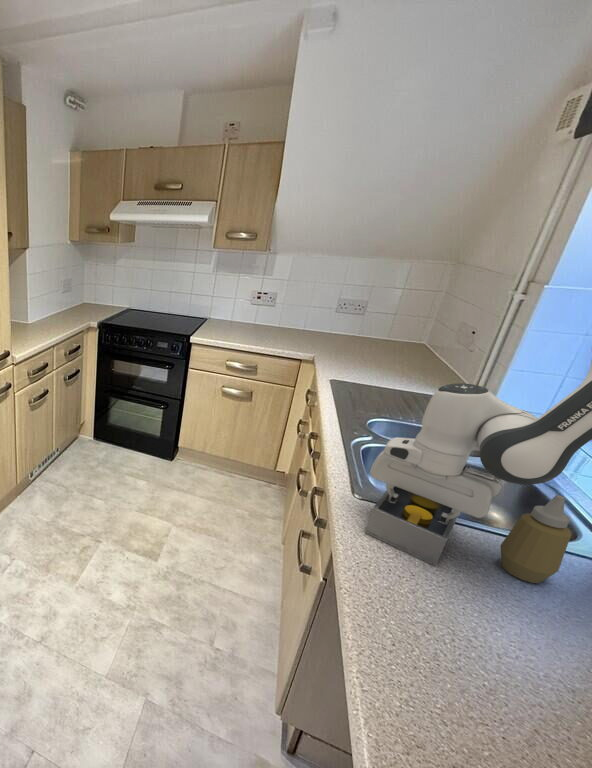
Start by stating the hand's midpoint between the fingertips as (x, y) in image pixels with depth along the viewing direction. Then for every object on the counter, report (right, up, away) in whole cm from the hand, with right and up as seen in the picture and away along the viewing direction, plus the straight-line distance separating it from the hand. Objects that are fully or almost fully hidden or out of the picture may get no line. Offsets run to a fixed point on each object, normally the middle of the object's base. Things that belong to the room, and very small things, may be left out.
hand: (416, 511), depth 91 cm
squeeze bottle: (+13, -9, -9) cm, 19 cm away
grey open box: (0, -5, +2) cm, 5 cm away
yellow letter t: (+1, -4, +2) cm, 4 cm away
